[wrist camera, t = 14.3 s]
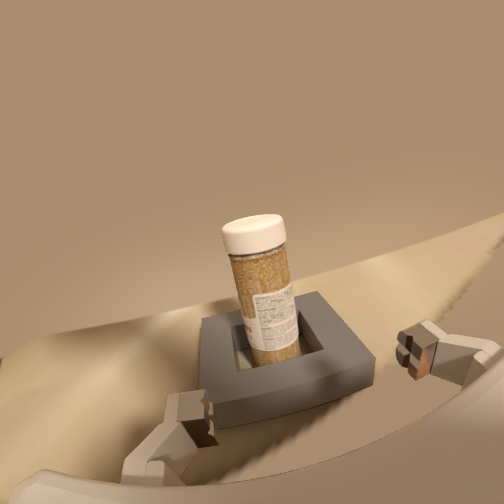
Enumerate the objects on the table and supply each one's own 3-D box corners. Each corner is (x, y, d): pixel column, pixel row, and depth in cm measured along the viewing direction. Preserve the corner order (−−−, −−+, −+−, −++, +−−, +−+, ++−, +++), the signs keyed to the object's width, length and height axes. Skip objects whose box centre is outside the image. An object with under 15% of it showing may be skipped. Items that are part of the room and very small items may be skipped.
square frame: (210, 429, 17) (197, 404, 16) (209, 340, 29) (201, 316, 28) (372, 385, 18) (375, 356, 17) (319, 313, 30) (316, 289, 29)
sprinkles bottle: (251, 356, 25) (219, 221, 22) (296, 345, 26) (275, 209, 22) (258, 386, 21) (220, 232, 17) (310, 373, 21) (289, 217, 18)
